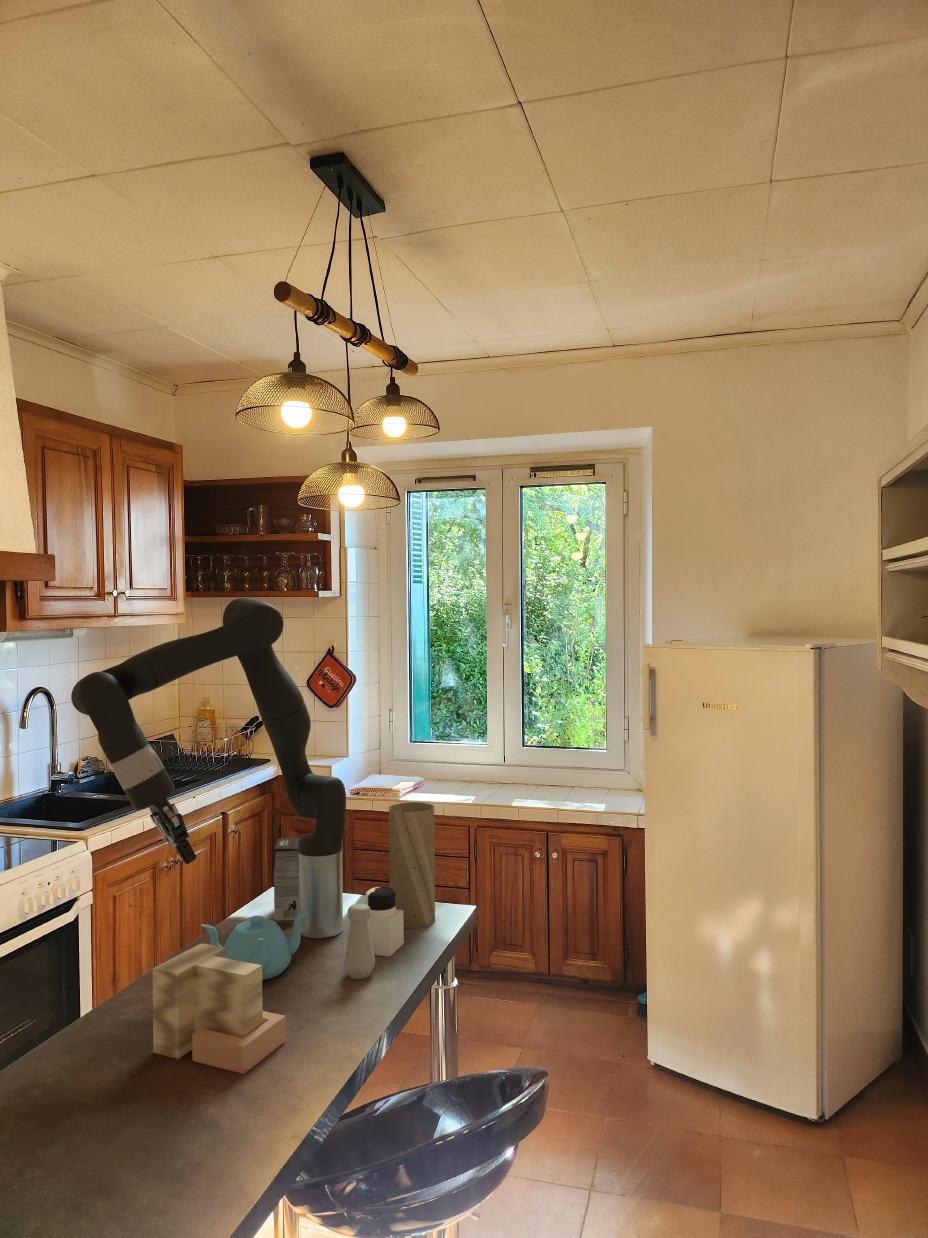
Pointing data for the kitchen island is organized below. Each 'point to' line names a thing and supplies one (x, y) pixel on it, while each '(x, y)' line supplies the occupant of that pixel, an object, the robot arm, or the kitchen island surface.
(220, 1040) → the frame
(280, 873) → the coffee box
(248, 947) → the teapot
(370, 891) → the medicine bottle
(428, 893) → the tube
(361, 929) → the salt shaker
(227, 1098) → the kitchen island surface
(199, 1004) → the t block
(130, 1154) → the kitchen island surface
